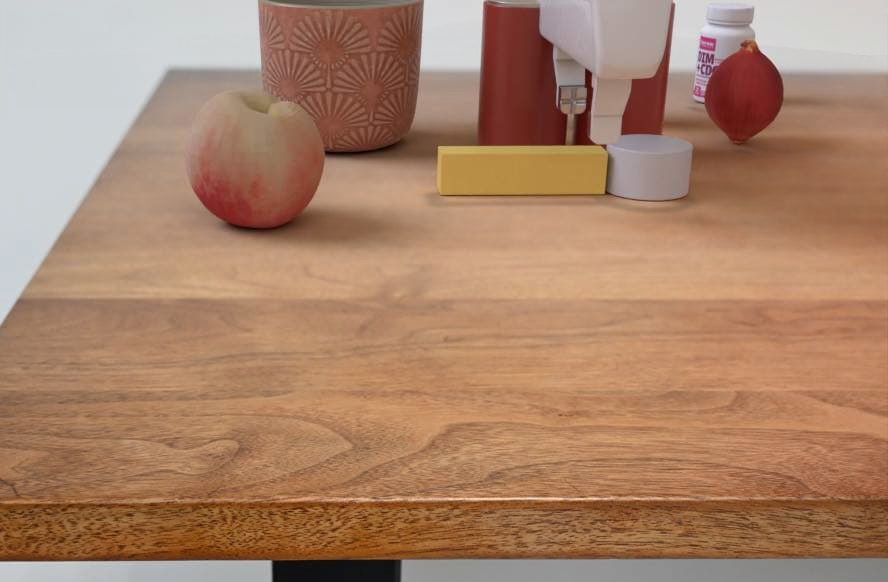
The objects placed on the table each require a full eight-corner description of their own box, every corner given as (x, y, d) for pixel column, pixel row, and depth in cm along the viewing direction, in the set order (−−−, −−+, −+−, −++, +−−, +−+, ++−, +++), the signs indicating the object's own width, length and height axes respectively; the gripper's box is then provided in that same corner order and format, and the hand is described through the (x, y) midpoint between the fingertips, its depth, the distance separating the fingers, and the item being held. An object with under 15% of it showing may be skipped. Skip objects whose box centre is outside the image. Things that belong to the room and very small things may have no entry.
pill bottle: (684, 102, 113) (694, 5, 110) (703, 94, 117) (713, 0, 114) (736, 108, 111) (748, 9, 107) (754, 99, 114) (766, 4, 111)
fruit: (257, 250, 72) (254, 110, 69) (164, 223, 77) (156, 92, 74) (348, 220, 77) (349, 90, 74) (255, 198, 82) (253, 74, 79)
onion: (708, 132, 102) (719, 31, 98) (781, 139, 99) (796, 35, 96) (692, 146, 97) (704, 40, 94) (770, 154, 94) (784, 46, 91)
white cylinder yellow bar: (674, 179, 87) (679, 133, 86) (698, 200, 82) (704, 152, 81) (434, 180, 87) (435, 134, 85) (442, 202, 82) (444, 153, 80)
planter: (244, 130, 101) (240, -10, 97) (388, 121, 105) (390, -15, 101) (285, 165, 90) (282, 9, 86) (444, 154, 94) (449, 3, 90)
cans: (647, 142, 98) (661, -7, 94) (670, 162, 92) (687, 4, 88) (471, 143, 97) (477, -7, 93) (483, 163, 91) (490, 4, 87)
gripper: (518, -103, 87) (511, 98, 92) (584, -89, 68) (571, 163, 73) (608, -105, 87) (596, 95, 92) (700, -91, 68) (678, 160, 73)
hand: (586, 126), depth 82 cm, fingers open, 8 cm apart
